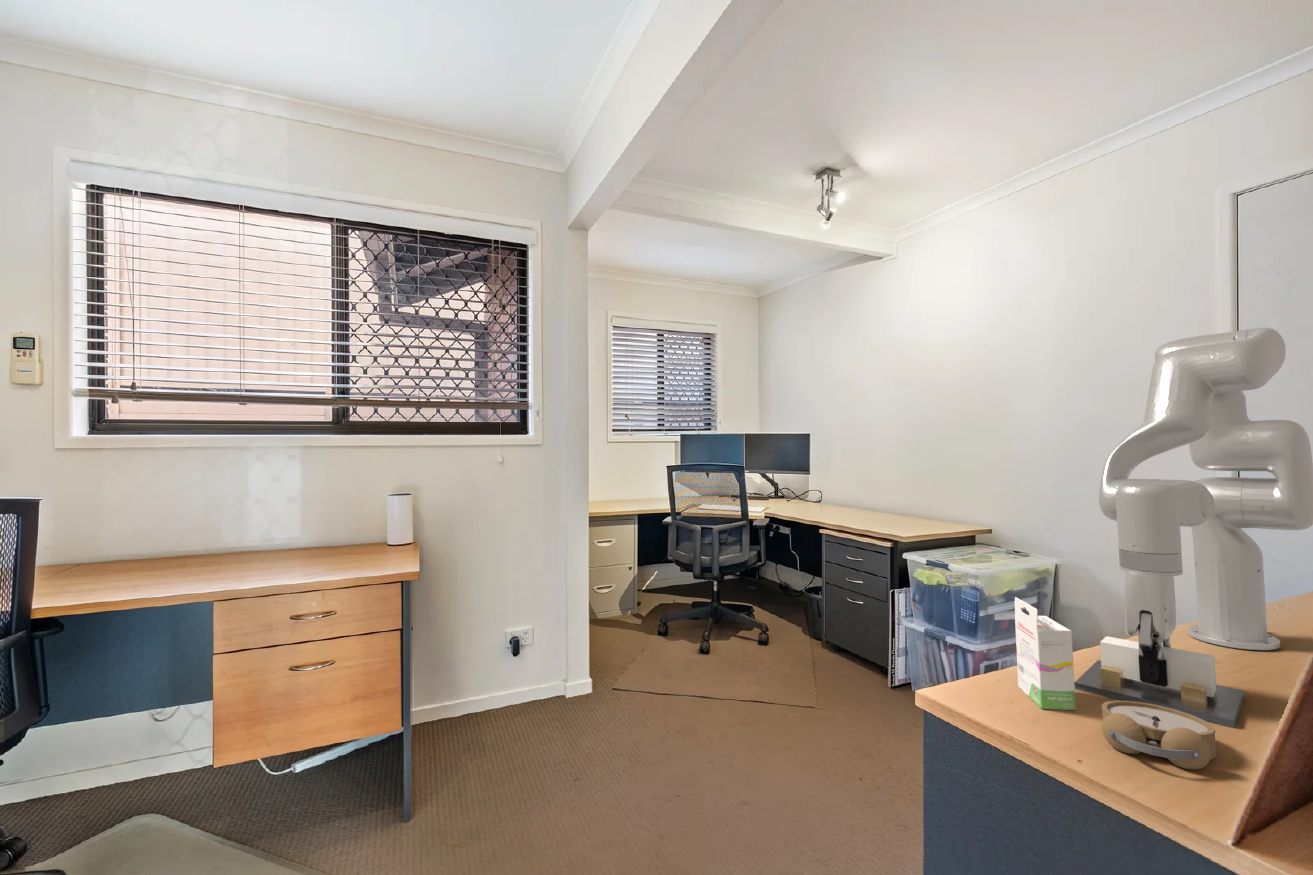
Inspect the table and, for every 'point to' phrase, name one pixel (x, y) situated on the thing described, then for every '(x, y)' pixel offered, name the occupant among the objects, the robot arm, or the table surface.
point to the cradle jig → (1165, 694)
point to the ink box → (1044, 659)
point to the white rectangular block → (1179, 662)
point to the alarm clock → (1159, 733)
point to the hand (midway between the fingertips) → (1156, 678)
